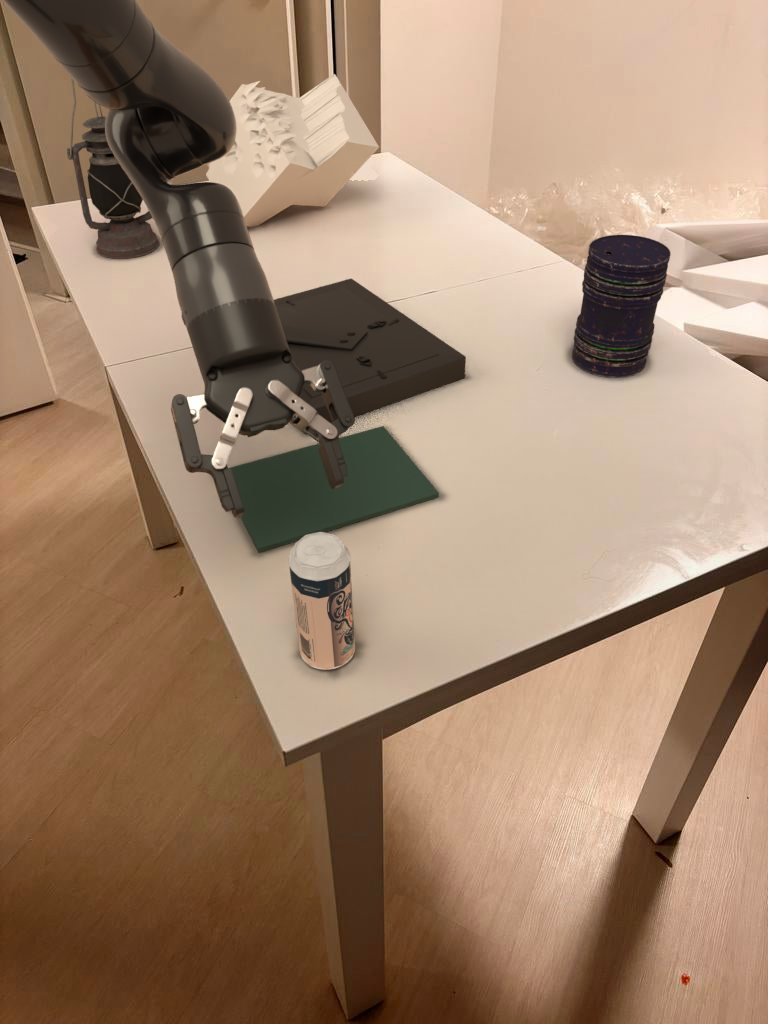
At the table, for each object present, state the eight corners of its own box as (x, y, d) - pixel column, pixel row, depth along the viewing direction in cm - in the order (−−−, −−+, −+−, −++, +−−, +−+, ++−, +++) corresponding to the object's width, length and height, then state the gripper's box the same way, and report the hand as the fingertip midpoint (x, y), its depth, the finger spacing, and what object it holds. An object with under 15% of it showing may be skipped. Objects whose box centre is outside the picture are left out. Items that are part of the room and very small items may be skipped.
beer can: (354, 673, 67) (348, 570, 59) (297, 673, 67) (284, 570, 60) (356, 630, 71) (351, 528, 63) (302, 630, 71) (290, 528, 63)
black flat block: (209, 338, 113) (305, 434, 94) (205, 310, 110) (303, 404, 91) (352, 297, 122) (464, 377, 104) (351, 271, 119) (466, 348, 101)
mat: (258, 553, 79) (257, 548, 78) (218, 474, 88) (218, 470, 88) (439, 497, 85) (439, 492, 85) (383, 430, 95) (383, 425, 94)
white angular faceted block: (221, 237, 142) (306, 135, 126) (178, 162, 143) (257, 52, 127) (296, 238, 158) (379, 147, 142) (256, 171, 159) (334, 74, 143)
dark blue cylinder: (621, 336, 112) (643, 230, 102) (661, 370, 104) (688, 259, 95) (557, 348, 109) (573, 240, 100) (594, 383, 102) (614, 271, 92)
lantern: (153, 229, 144) (116, 38, 125) (173, 249, 137) (136, 50, 118) (84, 243, 140) (34, 47, 120) (100, 264, 133) (50, 60, 113)
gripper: (144, 315, 60) (209, 519, 60) (320, 279, 65) (382, 469, 64) (143, 347, 68) (201, 530, 67) (302, 313, 72) (357, 484, 72)
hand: (290, 500), depth 66 cm, fingers open, 8 cm apart
